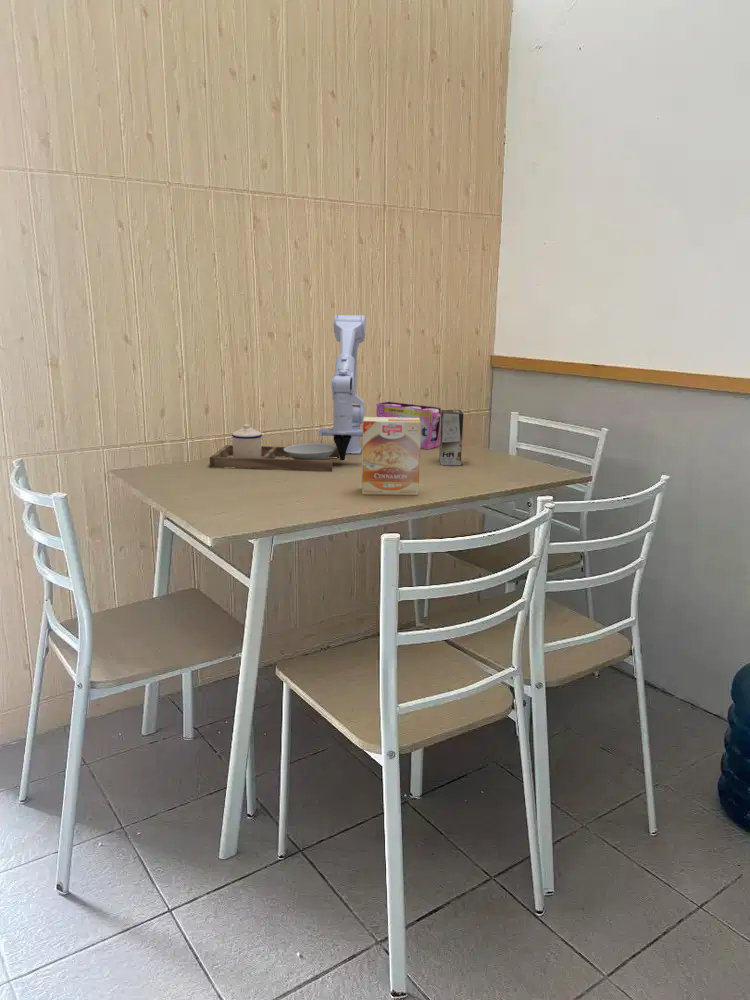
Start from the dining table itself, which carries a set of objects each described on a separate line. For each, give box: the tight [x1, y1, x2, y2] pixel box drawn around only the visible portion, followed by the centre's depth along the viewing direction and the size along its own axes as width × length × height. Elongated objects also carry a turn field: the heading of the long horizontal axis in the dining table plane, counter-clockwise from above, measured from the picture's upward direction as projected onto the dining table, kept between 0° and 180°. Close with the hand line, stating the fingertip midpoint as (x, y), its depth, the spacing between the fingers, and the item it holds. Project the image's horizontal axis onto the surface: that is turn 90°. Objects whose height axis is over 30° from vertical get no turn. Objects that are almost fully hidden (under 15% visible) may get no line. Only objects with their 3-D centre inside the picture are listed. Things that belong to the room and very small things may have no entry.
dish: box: [284, 442, 338, 460], centre depth 229 cm, size 18×14×5 cm
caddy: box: [209, 444, 340, 472], centre depth 230 cm, size 19×36×3 cm, turn 86°
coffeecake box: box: [361, 416, 421, 496], centre depth 196 cm, size 15×7×20 cm, turn 91°
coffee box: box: [438, 409, 464, 466], centre depth 233 cm, size 9×6×16 cm
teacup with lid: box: [231, 423, 263, 458], centre depth 230 cm, size 12×9×12 cm
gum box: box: [375, 401, 442, 450], centre depth 262 cm, size 24×8×14 cm, turn 52°
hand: (342, 459), depth 229 cm, fingers closed
